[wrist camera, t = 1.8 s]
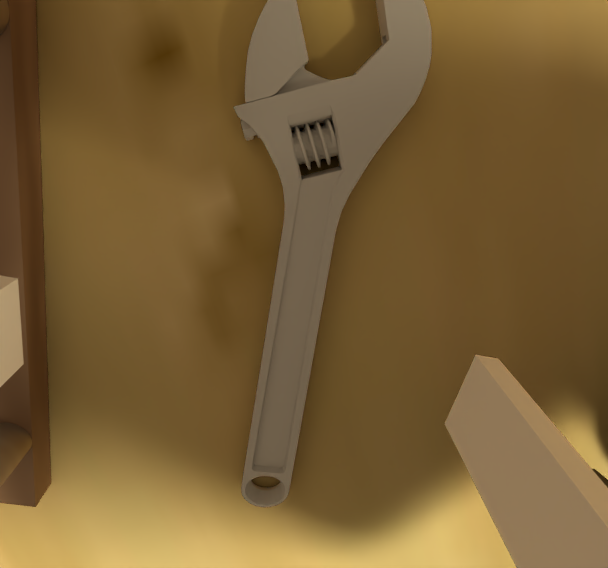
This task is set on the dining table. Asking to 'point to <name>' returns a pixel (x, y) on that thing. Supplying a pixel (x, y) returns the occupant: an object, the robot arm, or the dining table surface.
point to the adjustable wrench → (314, 195)
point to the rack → (23, 259)
